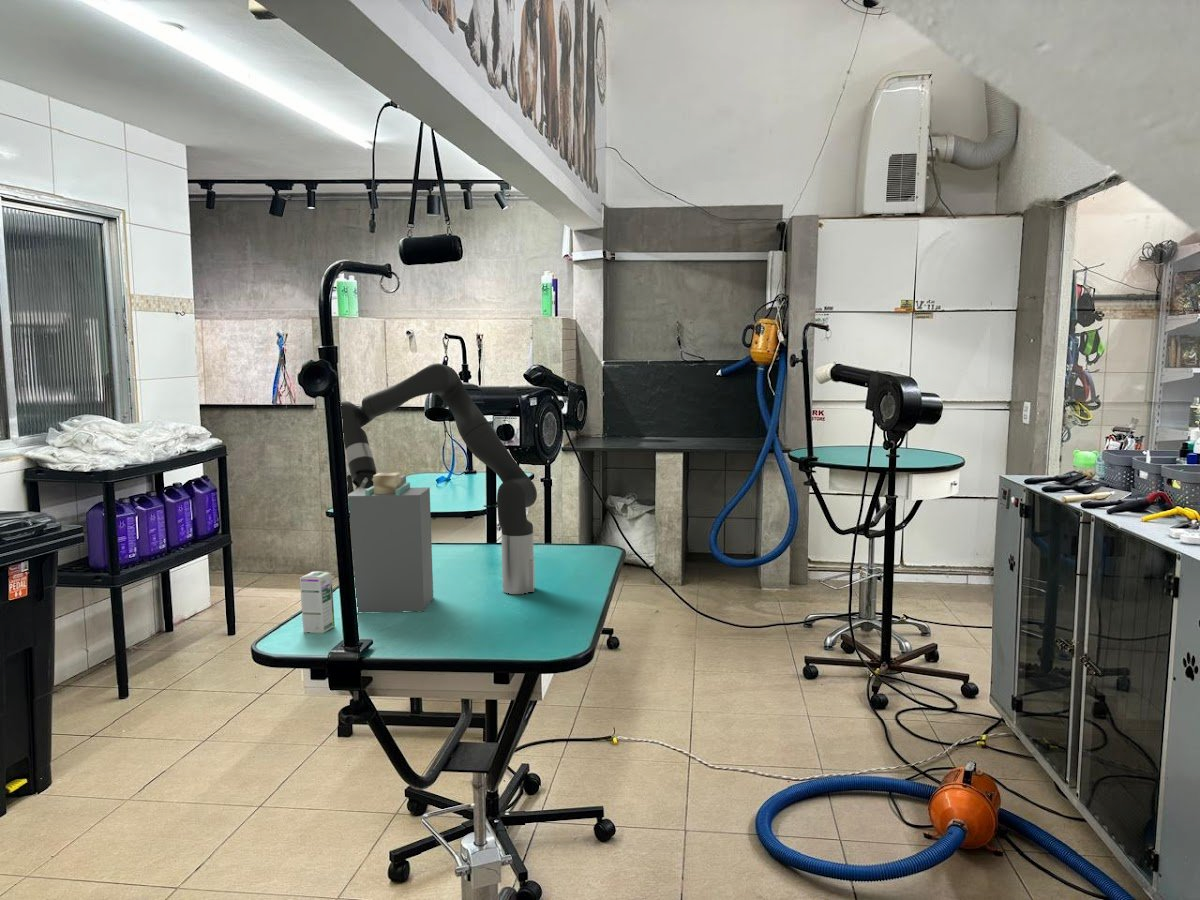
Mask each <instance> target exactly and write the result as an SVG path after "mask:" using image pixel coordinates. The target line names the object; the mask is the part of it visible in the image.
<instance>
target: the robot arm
mask: <svg viewBox="0 0 1200 900" xmlns="http://www.w3.org/2000/svg"><path fill="white" fill-rule="evenodd" d="M430 394H431V395H432V394H434V395H438V396H439V397H440V398H441V400H442V401H443V402H444V404H445V405H446V406H447V408H448V409H449V411H450V412H451V413H452V415H453V418H454V420H455V421H454V422H455V426H456V428H457V431H458V433H459V436H460V437H461V439H462V441H463V442H464V445H466V446H467V448H468V450H469V451H470V452H471V453H472V454H473V456H474V457H475V458H476V459H478V460H479V461H480V462H482V463H483V464H484V465H486V466H487V467H488V468H489V469H491V470H492V471H493V472H494V473H495V474H496V476H497V477H498V478H499V479H500V481H501V482H502V483H501V484H500V485H499V487H498V488H497V492H496V494H497V495H496V505H497V519H498V520H497V521H498V525H499V526H500V530H501V560H502V562H501V565H502V566H501V568H502V569H501V570H502V591H504V592H503V593H504V594H508V593H509V595H525V594H524V593H526V594H529V593H528V592H535V589H536V577H535V576H536V575H535V572H536V570H535V555H534V554H535V553H534V526H533V523H532V522H531V521H529V520H528V517H527V509H526V508H529V507H532V506H533V505H534V504H535V502H536V501H537V498H538V497H537V496H538V492H537V491H538V490H537V488H536V485H535V484H534V482H533V481H532V480H531V478H530V477H529V475H527V473H526V472H525V471H524V469H522V468H521V466H520V465H519V464H518V463H517V461H516V460H515V459H514V458H513V456H512V455H511V454H510V452H509V450H508V449H507V447H506V445H504V443H503V441H502V440H501V439H500V437H499V435H498V434H497V432H496V430H495V429H494V428H493V426H492V425H491V423H490V422H489V421H488V419H487V418H486V417H485V415H484V414H483V412H482V411H481V409H480V408H479V407H478V406H477V405H476V404H475V402H474V401H473V400H472V398H471V396H470V395H469V393H468V391H467V389H466V388H465V385H464V384H463V382H462V380H461V378H460V375H458V373H457V371H456V370H455V369H453V368H452V367H450V366H448V365H446V364H442V363H437V362H436V363H435V362H434V363H431V364H429V365H427V366H425V367H423V368H422V369H420V370H418V372H415V373H414V374H412V375H411V376H409V377H407V378H405V379H403V380H401V381H399V382H397V383H395V384H393V385H391V386H388V387H386V388H383V389H380V390H378V391H375V392H373V393H370V394H368V395H365V396H364V397H363V398H362V400H361V405H359V406H358V405H356V404H354V403H352V402H350V401H348V400H341V405H342V419H343V433H344V441H343V445H345V446H344V449H345V457H346V461H347V466H348V469H349V474H347V476H346V477H347V482H348V494H350V493H351V492H353V491H355V490H357V489H359V488H370V487H372V486H374V484H373V476H374V475H375V474H377V473H378V472H377V468H376V464H375V459H374V456H373V452H372V449H371V447H370V443H369V440H368V439H369V438H368V435H367V433H366V431H365V430H364V429H363V427H365V426H366V425H368V424H369V423H370V422H371V421H373V420H374V419H375V418H377V417H379V416H382V415H385V414H387V413H390V412H391V411H394V410H396V409H398V408H400V407H401V406H402V405H404V404H405V403H406V402H408V401H410V400H413V399H415V398H418V397H420V396H426V395H430ZM354 486H355V488H354ZM534 588H535V589H534Z"/></svg>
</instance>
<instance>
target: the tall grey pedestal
mask: <svg viewBox="0 0 1200 900" xmlns="http://www.w3.org/2000/svg"><path fill="white" fill-rule="evenodd" d="M430 489H431V488H430V487H411V482H407V481H406V483H405V484H403V485H402V486H400V487H399V488H397V489H396V490H395V493H396V494H374V486H372V487H370V488H359V489H357V490H355V489H354V490H355V491H353V492H351V493H350V494H348V497H349V511H350V527H351V538H352V549H353V560H354V571H355V588H356V598H357V607H358V613H357V614H360V613H359V612H393V613H404V612H403V611H424V612H425V611H426V610H427V608H428V607H427V606H429V605H430V604H431V602H432V601H431V600H433V599H434V579H433V578H434V577H433V551H432V550H433V549H432V547H433V546H432V545H433V544H432V523H431V522H432V520H431V518H432V517H431V516H432V515H431V490H430ZM430 601H431V602H430ZM429 603H430V604H429ZM425 609H426V610H425Z"/></svg>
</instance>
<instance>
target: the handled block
mask: <svg viewBox="0 0 1200 900" xmlns="http://www.w3.org/2000/svg"><path fill="white" fill-rule="evenodd" d="M405 483H407V474H401V472H376V474H375V475H374V476H373V484H374V494H396V493H395V490H396V489H397V488H399V487H400V486H402V485H403V484H405Z"/></svg>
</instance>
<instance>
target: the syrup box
mask: <svg viewBox="0 0 1200 900" xmlns="http://www.w3.org/2000/svg"><path fill="white" fill-rule="evenodd" d="M332 577H333V575H332V572H331V571H324V570H323V571H321V570H320V571H319V570H317V571H311V572H309V573H306V574H305V575H303V576H300V577H299V585H300V587H299V588H300V589H299V590H300V603H301V615H302V616H301V617H302V630H303V633H307V632H310V633H309V634H325V632H328V631H329V630H331V629H333V628H334V627H335V625H336V624H335V610H334V608H335V607H334V593H333V591H334V590H333V579H332Z"/></svg>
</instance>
